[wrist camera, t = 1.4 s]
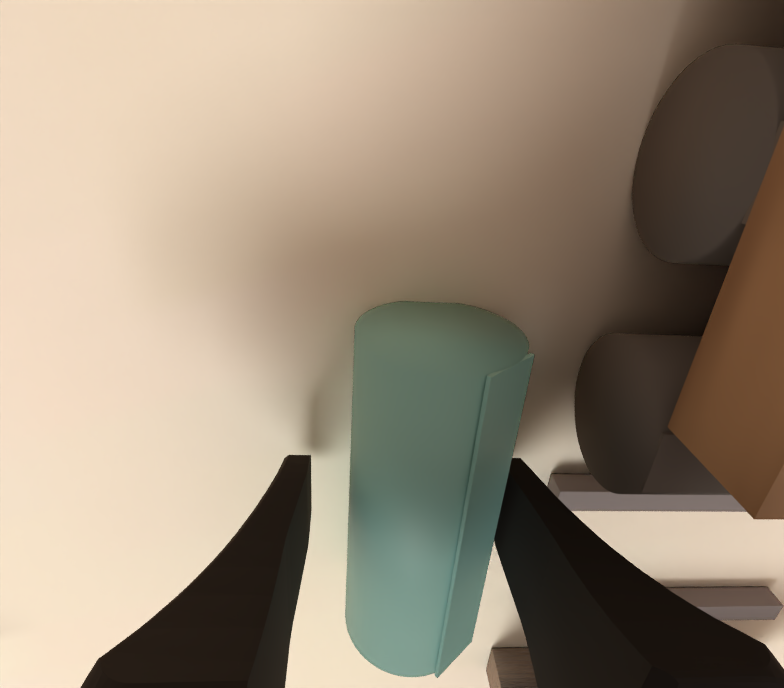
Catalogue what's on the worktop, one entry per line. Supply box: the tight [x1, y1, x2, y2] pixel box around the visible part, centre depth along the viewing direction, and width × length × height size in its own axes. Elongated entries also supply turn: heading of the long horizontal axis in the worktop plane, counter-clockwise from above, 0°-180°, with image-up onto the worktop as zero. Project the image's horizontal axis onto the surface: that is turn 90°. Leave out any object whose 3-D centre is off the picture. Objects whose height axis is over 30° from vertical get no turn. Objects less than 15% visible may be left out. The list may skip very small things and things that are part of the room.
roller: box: [345, 301, 535, 678], centre depth 14 cm, size 10×4×4 cm
